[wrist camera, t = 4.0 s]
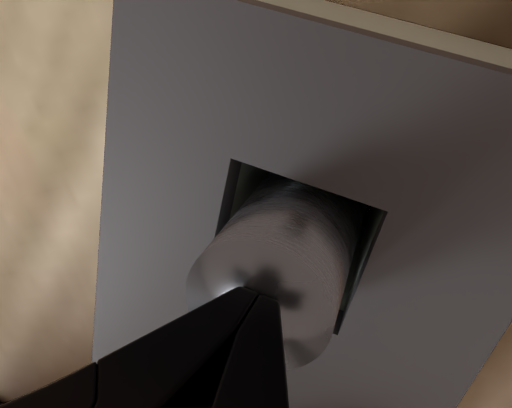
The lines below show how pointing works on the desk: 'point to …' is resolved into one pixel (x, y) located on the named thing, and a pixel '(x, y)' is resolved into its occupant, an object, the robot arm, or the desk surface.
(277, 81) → the press block
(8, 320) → the desk surface
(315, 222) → the outer peg
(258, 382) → the robot arm
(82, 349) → the desk surface
